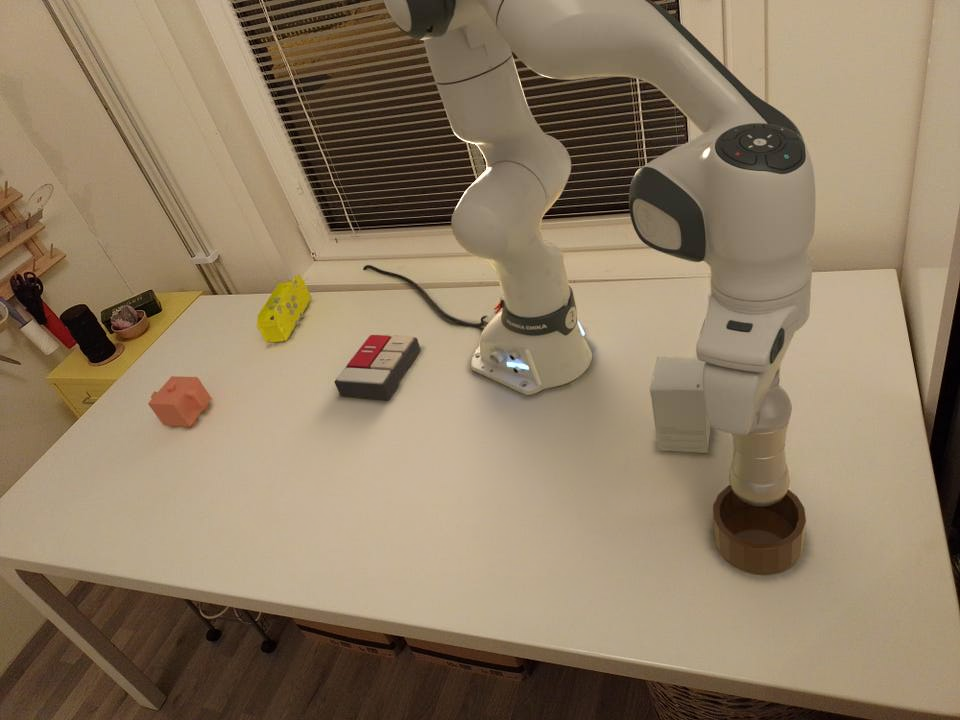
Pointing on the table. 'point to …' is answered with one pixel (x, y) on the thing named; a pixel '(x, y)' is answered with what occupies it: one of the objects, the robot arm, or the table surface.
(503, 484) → the table surface
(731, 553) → the cup
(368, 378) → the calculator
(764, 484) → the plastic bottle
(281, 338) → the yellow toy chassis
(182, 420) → the pink studded cube
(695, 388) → the white packaging box
